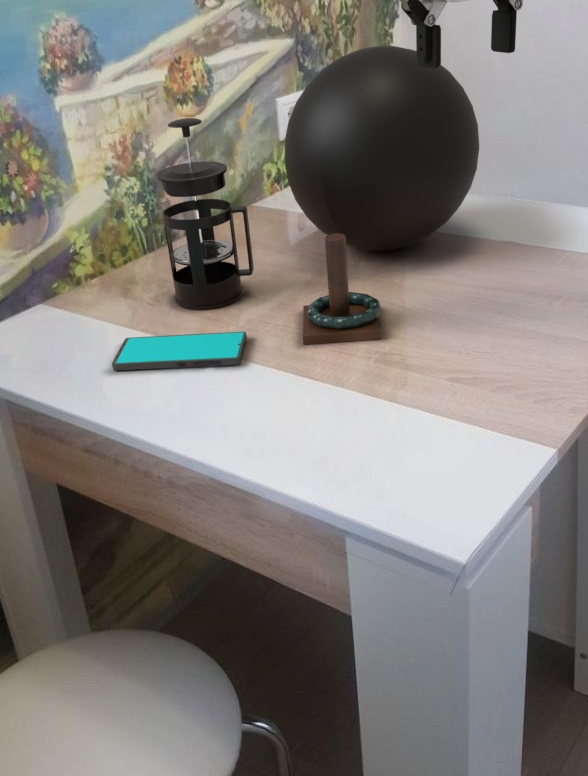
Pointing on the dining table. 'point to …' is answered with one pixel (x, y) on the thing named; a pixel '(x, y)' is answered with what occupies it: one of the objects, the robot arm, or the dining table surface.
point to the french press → (202, 233)
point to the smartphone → (180, 351)
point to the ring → (345, 321)
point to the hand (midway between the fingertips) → (466, 59)
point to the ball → (381, 148)
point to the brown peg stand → (338, 301)
